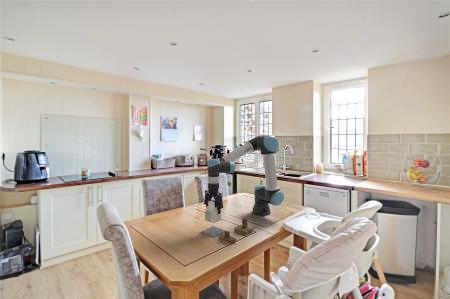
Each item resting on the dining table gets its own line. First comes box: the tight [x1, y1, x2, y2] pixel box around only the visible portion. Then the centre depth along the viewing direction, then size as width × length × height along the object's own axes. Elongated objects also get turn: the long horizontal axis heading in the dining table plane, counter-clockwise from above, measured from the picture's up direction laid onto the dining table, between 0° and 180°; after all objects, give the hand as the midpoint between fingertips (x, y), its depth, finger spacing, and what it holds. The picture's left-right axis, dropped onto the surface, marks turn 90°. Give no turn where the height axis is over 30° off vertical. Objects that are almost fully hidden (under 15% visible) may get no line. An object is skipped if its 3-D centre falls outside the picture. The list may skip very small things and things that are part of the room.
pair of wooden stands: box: [218, 217, 254, 245], centre depth 135 cm, size 23×10×8 cm, turn 140°
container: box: [204, 199, 222, 224], centre depth 139 cm, size 8×8×13 cm
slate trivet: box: [200, 225, 227, 238], centre depth 140 cm, size 12×12×1 cm
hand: (213, 217), depth 140 cm, fingers closed on container, 8 cm apart
